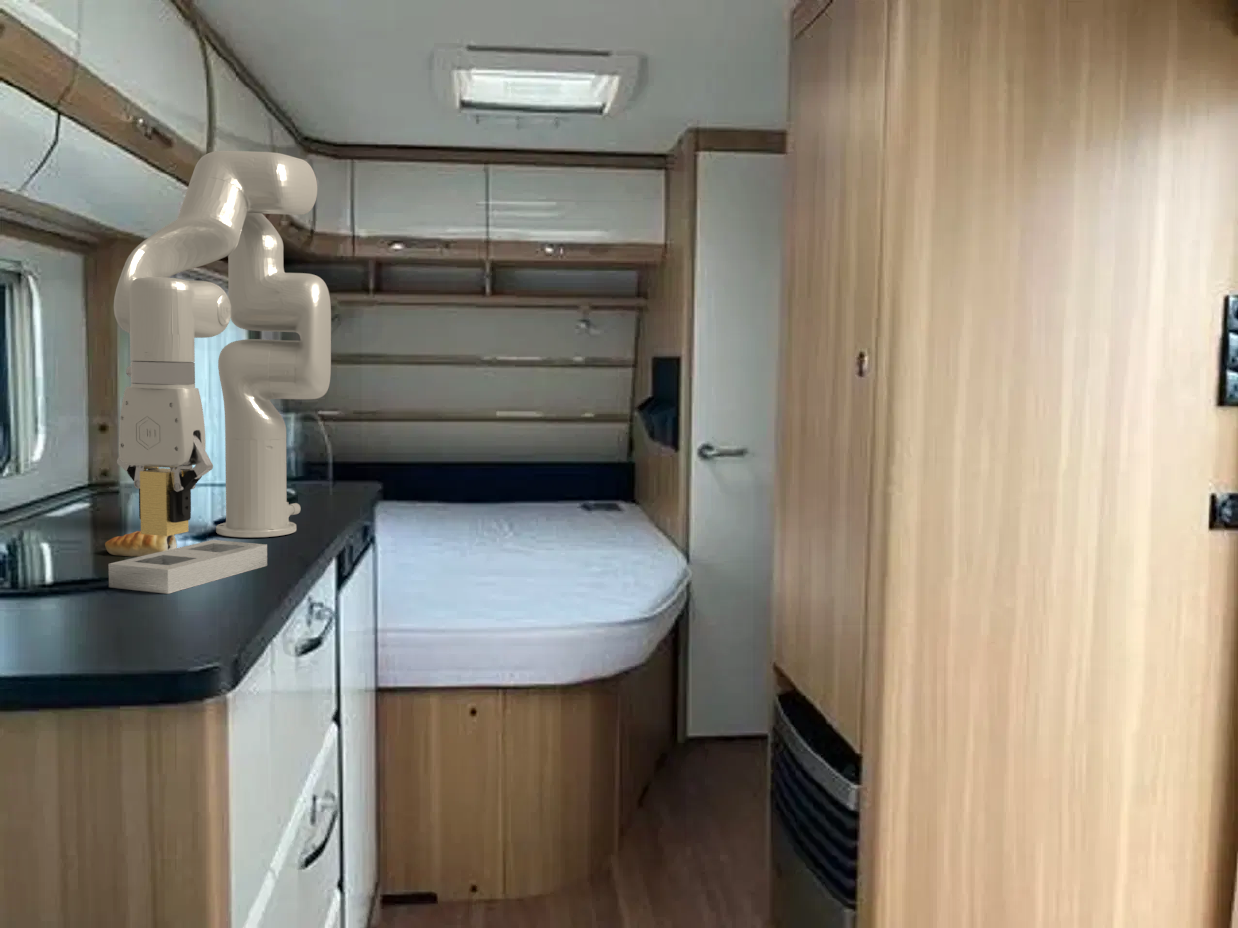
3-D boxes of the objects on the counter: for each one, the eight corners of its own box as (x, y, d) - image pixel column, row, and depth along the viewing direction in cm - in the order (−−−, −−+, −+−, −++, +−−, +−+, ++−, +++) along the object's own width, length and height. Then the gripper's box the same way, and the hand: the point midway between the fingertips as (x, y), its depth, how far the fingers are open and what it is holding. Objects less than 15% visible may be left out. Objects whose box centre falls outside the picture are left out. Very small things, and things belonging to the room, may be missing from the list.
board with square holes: (213, 560, 158) (213, 539, 158) (267, 565, 155) (267, 544, 155) (108, 587, 139) (108, 563, 139) (168, 593, 136) (167, 569, 136)
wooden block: (162, 529, 144) (162, 468, 143) (188, 531, 143) (187, 469, 142) (140, 533, 140) (139, 471, 140) (166, 536, 139) (165, 472, 138)
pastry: (98, 558, 159) (98, 532, 158) (114, 550, 165) (114, 525, 165) (166, 558, 160) (166, 532, 159) (179, 550, 166) (179, 525, 166)
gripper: (87, 374, 139) (90, 519, 141) (198, 378, 134) (200, 528, 135) (130, 374, 146) (133, 512, 148) (238, 378, 141) (239, 520, 143)
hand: (165, 518), depth 142 cm, fingers closed on wooden block, 4 cm apart
